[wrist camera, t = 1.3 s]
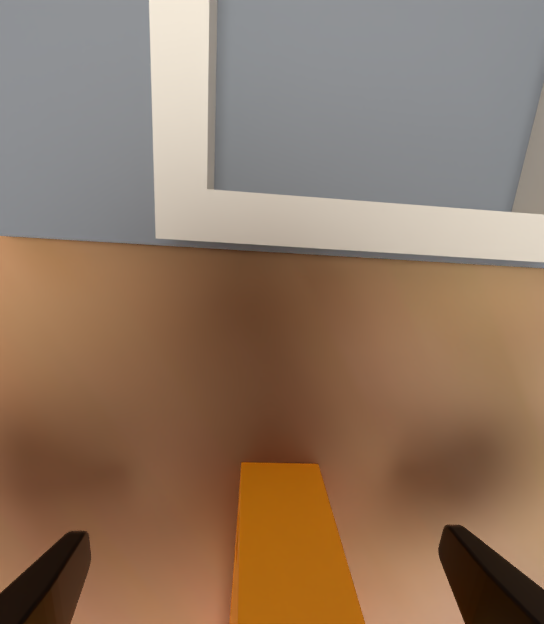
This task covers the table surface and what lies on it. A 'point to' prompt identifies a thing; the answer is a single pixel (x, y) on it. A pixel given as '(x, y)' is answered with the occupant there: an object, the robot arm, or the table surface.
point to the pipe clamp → (289, 550)
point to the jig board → (277, 126)
